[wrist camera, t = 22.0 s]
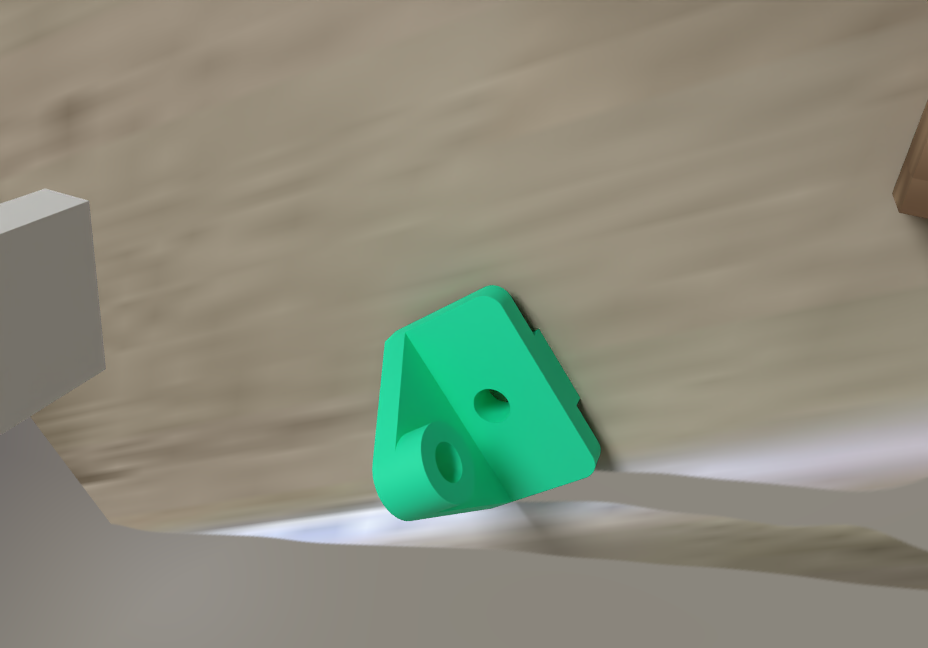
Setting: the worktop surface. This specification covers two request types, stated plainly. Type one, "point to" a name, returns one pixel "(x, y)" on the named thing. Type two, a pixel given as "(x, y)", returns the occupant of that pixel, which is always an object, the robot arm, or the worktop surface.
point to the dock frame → (915, 174)
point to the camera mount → (475, 413)
